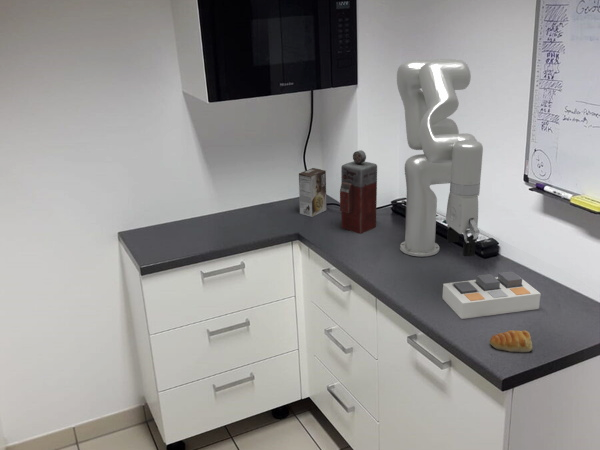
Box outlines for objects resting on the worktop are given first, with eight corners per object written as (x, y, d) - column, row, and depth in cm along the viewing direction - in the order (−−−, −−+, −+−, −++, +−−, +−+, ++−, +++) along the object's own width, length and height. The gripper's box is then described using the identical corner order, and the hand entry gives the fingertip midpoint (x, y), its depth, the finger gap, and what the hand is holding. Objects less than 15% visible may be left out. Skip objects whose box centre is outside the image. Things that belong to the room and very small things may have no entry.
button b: (475, 287, 177) (476, 275, 176) (489, 285, 178) (490, 273, 177) (484, 295, 173) (485, 283, 171) (498, 293, 173) (500, 281, 172)
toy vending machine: (336, 229, 229) (336, 152, 219) (357, 221, 236) (357, 146, 227) (356, 235, 223) (357, 156, 213) (376, 227, 231) (377, 150, 221)
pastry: (493, 354, 151) (495, 340, 150) (486, 339, 158) (487, 325, 156) (534, 353, 151) (535, 339, 150) (524, 338, 158) (526, 325, 156)
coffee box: (313, 207, 252) (313, 167, 246) (327, 210, 248) (326, 170, 243) (299, 213, 246) (297, 172, 240) (312, 217, 242) (311, 175, 236)
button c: (497, 284, 178) (498, 272, 177) (511, 283, 179) (512, 271, 178) (506, 292, 174) (507, 280, 172) (521, 291, 175) (522, 279, 173)
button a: (453, 295, 177) (453, 283, 175) (467, 293, 177) (468, 281, 176) (461, 303, 172) (462, 291, 171) (476, 301, 173) (476, 289, 171)
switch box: (442, 298, 178) (443, 283, 176) (515, 289, 182) (517, 274, 180) (461, 319, 167) (462, 302, 165) (538, 308, 171) (540, 292, 169)
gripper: (437, 179, 175) (434, 238, 182) (466, 199, 160) (461, 262, 166) (463, 177, 177) (459, 235, 183) (494, 197, 161) (488, 259, 167)
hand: (460, 248), depth 174 cm, fingers open, 9 cm apart
